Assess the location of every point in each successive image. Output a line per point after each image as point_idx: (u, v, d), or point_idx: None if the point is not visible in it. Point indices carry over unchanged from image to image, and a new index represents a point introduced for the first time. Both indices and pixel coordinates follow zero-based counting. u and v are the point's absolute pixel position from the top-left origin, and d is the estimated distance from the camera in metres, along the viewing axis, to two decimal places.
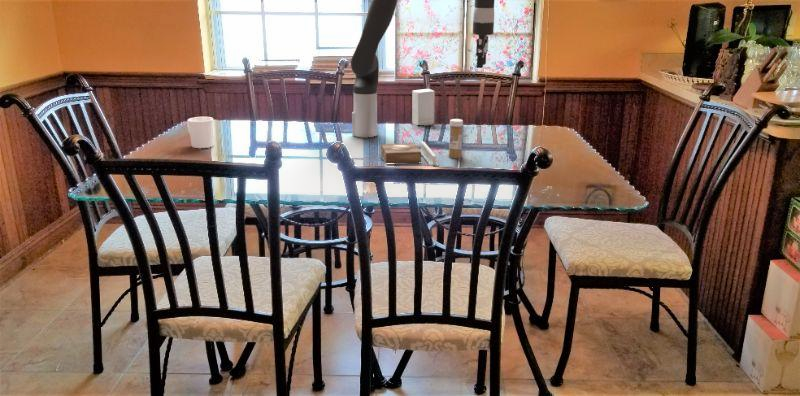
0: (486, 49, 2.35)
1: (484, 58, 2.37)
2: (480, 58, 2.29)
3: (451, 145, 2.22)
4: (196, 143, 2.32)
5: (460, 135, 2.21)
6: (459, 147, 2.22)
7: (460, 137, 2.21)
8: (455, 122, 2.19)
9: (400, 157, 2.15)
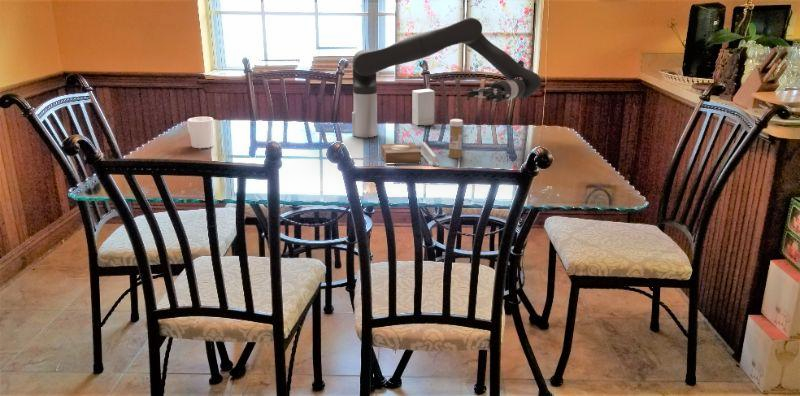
0: (480, 96, 2.32)
1: (472, 95, 2.30)
2: (494, 97, 2.25)
3: (451, 145, 2.22)
4: (196, 143, 2.32)
5: (460, 135, 2.21)
6: (459, 147, 2.22)
7: (460, 137, 2.21)
8: (455, 122, 2.19)
9: (400, 157, 2.15)
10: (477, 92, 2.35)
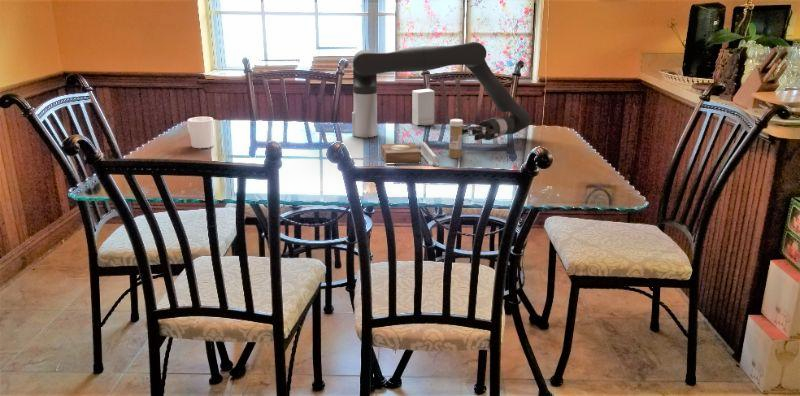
0: (469, 134, 2.33)
1: None
2: (483, 137, 2.26)
3: (451, 145, 2.22)
4: (196, 143, 2.32)
5: (460, 135, 2.21)
6: (459, 147, 2.22)
7: (460, 137, 2.21)
8: (455, 122, 2.19)
9: (400, 157, 2.15)
10: (466, 130, 2.36)
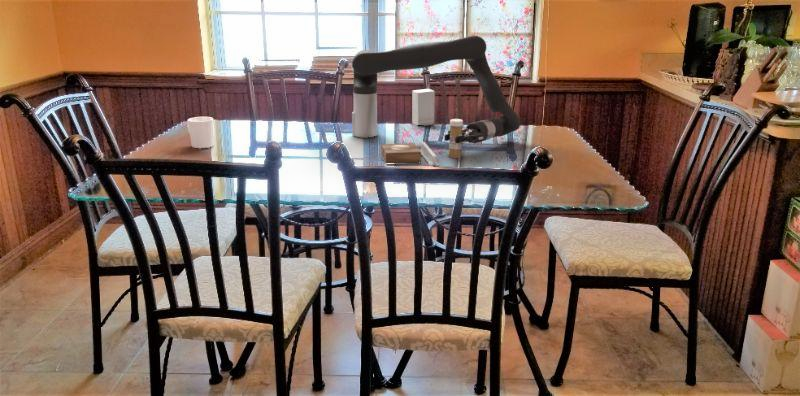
0: None
1: None
2: (464, 139, 2.21)
3: (451, 145, 2.22)
4: (196, 143, 2.32)
5: (460, 135, 2.21)
6: (459, 147, 2.22)
7: None
8: (455, 122, 2.19)
9: (400, 157, 2.15)
10: None
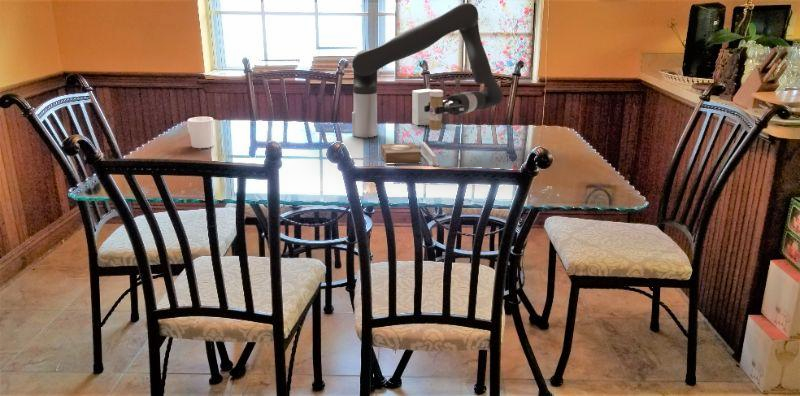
0: None
1: None
2: (444, 110, 2.17)
3: (431, 116, 2.18)
4: (196, 143, 2.32)
5: (440, 106, 2.16)
6: (439, 118, 2.18)
7: None
8: (435, 92, 2.14)
9: (400, 157, 2.15)
10: None
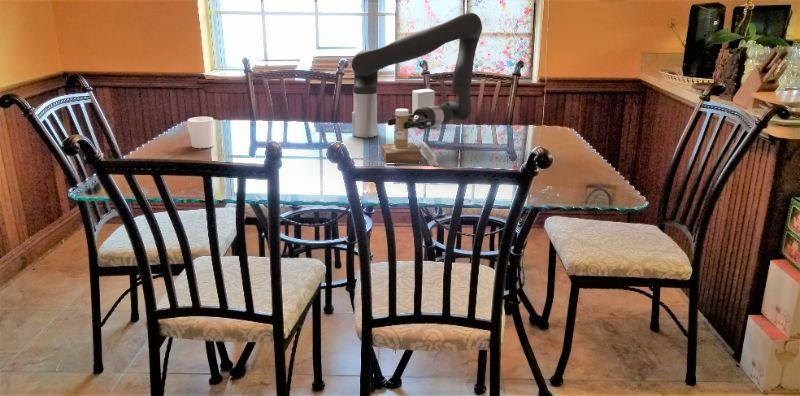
0: None
1: (394, 123, 2.20)
2: (413, 125, 2.15)
3: (397, 135, 2.17)
4: (196, 143, 2.32)
5: None
6: (405, 137, 2.17)
7: None
8: (400, 112, 2.14)
9: (400, 157, 2.15)
10: None
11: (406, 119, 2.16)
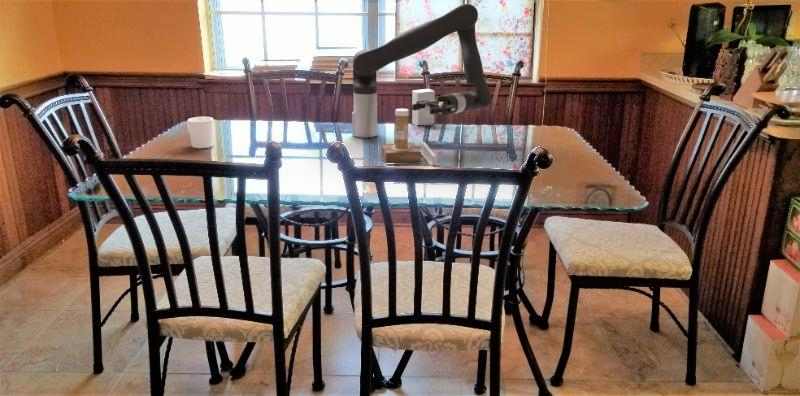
0: (426, 109, 2.30)
1: (418, 108, 2.28)
2: (439, 111, 2.23)
3: (397, 135, 2.17)
4: (196, 143, 2.32)
5: (406, 125, 2.16)
6: (405, 137, 2.17)
7: (406, 127, 2.16)
8: (400, 112, 2.14)
9: (400, 157, 2.15)
10: (424, 105, 2.33)
11: (406, 119, 2.16)
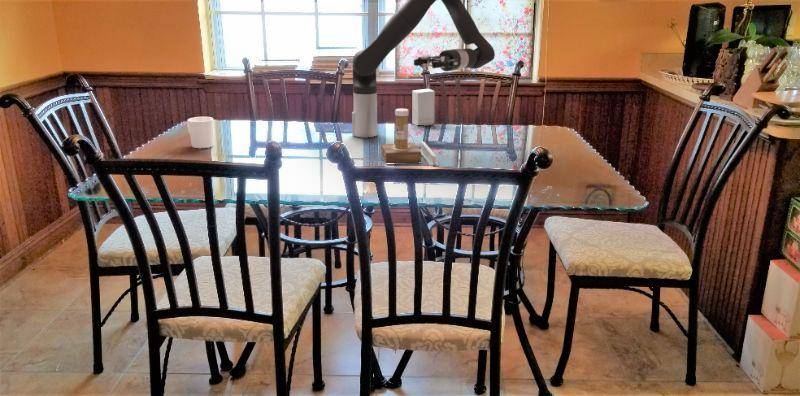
0: (428, 65, 2.25)
1: (419, 63, 2.23)
2: (441, 65, 2.18)
3: (397, 135, 2.17)
4: (196, 143, 2.32)
5: (406, 125, 2.16)
6: (405, 137, 2.17)
7: (406, 127, 2.17)
8: (400, 111, 2.14)
9: (400, 157, 2.15)
10: (426, 61, 2.28)
11: (406, 119, 2.16)
